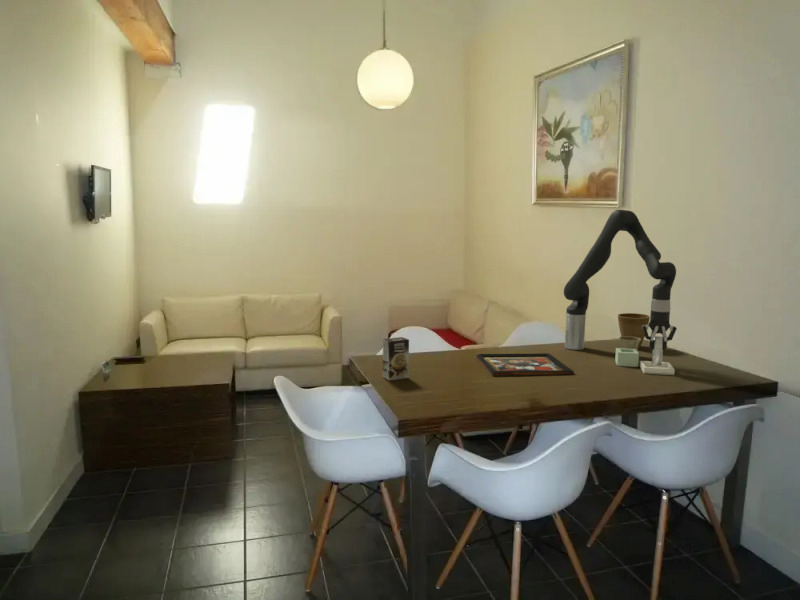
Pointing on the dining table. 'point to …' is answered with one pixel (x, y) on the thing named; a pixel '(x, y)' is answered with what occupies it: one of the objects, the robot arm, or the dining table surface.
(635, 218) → the robot arm
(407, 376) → the food box
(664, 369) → the tray
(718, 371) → the dining table surface
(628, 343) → the flower pot
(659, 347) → the pin
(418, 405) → the dining table surface
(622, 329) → the plant pot
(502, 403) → the dining table surface
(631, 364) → the block
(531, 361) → the framed painting
